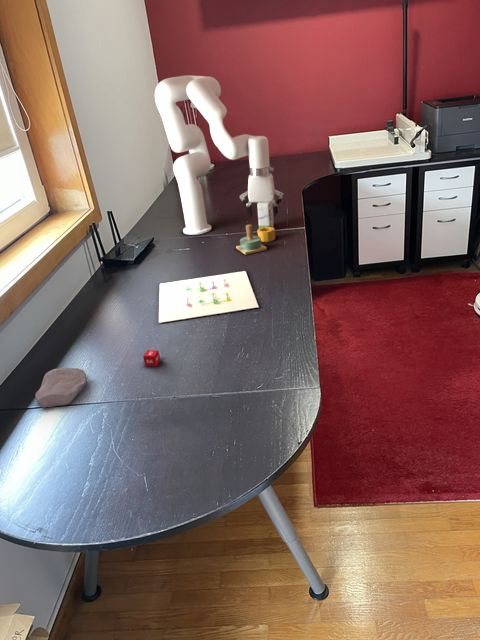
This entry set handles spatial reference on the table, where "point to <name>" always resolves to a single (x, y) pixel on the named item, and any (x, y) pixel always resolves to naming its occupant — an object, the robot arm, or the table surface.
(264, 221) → the ink box
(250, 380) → the table surface
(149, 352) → the dice
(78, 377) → the stone block
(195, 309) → the printed paper
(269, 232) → the ring
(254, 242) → the stacking peg
